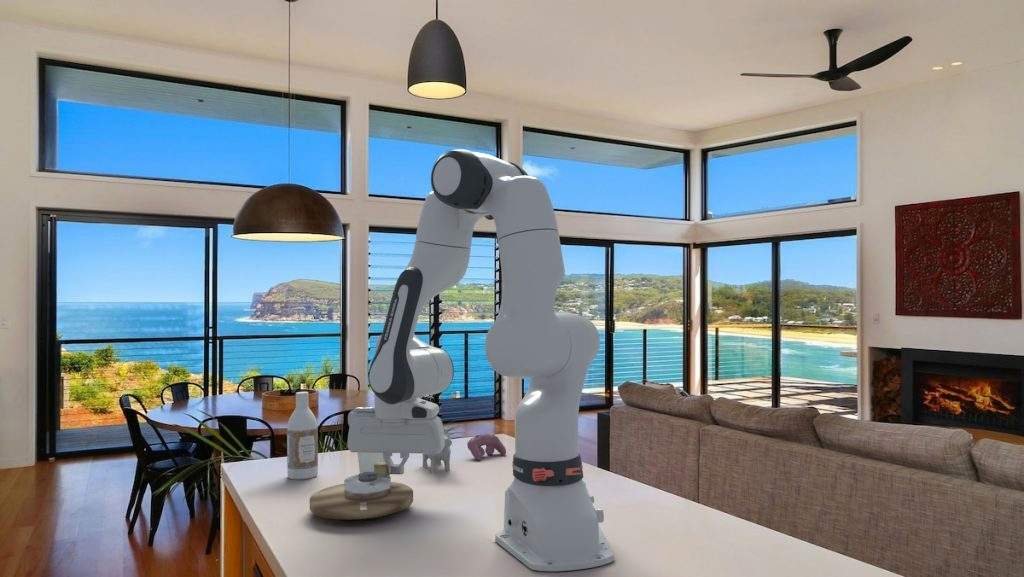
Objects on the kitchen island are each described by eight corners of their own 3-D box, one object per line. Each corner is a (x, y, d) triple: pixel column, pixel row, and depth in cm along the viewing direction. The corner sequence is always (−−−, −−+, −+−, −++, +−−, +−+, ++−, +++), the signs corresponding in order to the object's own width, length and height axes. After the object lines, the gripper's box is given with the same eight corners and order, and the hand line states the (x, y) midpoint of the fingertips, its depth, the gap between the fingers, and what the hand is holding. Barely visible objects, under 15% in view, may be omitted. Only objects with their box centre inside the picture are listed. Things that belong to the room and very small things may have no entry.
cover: (391, 499, 129) (391, 478, 129) (343, 502, 127) (343, 481, 127) (390, 486, 137) (390, 467, 138) (345, 489, 136) (345, 470, 136)
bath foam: (292, 482, 154) (292, 395, 154) (283, 475, 159) (282, 392, 160) (322, 477, 158) (321, 392, 158) (312, 471, 164) (311, 389, 164)
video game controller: (499, 458, 180) (491, 433, 183) (508, 453, 177) (501, 428, 180) (469, 465, 174) (462, 439, 176) (479, 459, 171) (471, 433, 173)
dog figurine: (436, 477, 156) (436, 431, 157) (419, 465, 168) (418, 423, 168) (457, 474, 159) (457, 429, 159) (438, 462, 170) (438, 420, 170)
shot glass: (380, 483, 152) (380, 452, 152) (352, 482, 153) (352, 451, 153) (391, 475, 159) (391, 446, 159) (365, 474, 160) (364, 445, 160)
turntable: (418, 513, 125) (418, 483, 125) (306, 524, 120) (306, 492, 120) (408, 485, 144) (408, 459, 144) (312, 493, 139) (311, 466, 139)
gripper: (342, 409, 138) (343, 476, 138) (439, 410, 135) (440, 478, 135) (353, 404, 144) (353, 468, 144) (446, 405, 142) (446, 470, 141)
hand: (396, 473), depth 139 cm, fingers closed
